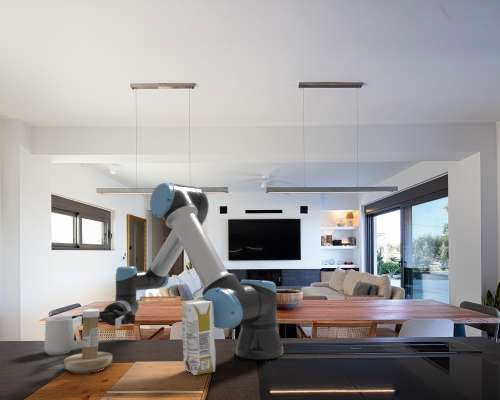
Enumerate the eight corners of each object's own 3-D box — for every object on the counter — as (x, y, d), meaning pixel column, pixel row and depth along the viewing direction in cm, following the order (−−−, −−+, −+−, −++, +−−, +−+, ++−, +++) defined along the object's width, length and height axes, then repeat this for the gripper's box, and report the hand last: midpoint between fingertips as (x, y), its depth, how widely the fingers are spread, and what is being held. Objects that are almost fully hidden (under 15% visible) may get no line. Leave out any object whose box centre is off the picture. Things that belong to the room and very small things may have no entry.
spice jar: (78, 357, 117) (79, 310, 119) (93, 354, 121) (94, 308, 122) (86, 360, 115) (87, 311, 116) (101, 356, 118) (102, 309, 119)
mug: (62, 356, 131) (63, 320, 133) (38, 355, 133) (39, 320, 134) (84, 347, 143) (85, 314, 144) (62, 346, 145) (63, 314, 146)
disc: (117, 369, 116) (118, 358, 116) (68, 378, 108) (69, 366, 109) (105, 359, 126) (105, 349, 127) (59, 367, 119) (59, 356, 119)
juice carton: (193, 378, 107) (190, 304, 109) (181, 369, 114) (179, 301, 116) (219, 372, 111) (215, 301, 112) (206, 364, 118) (203, 297, 120)
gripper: (152, 323, 143) (135, 336, 122) (81, 324, 143) (52, 337, 122) (152, 301, 144) (135, 310, 123) (82, 302, 144) (53, 312, 123)
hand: (93, 324), depth 122 cm, fingers open, 13 cm apart
